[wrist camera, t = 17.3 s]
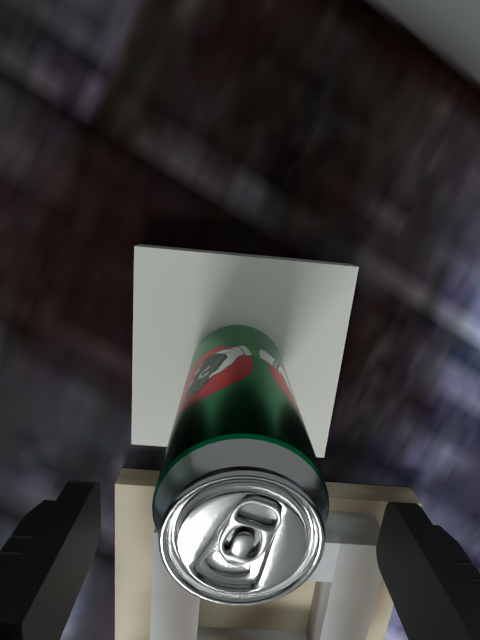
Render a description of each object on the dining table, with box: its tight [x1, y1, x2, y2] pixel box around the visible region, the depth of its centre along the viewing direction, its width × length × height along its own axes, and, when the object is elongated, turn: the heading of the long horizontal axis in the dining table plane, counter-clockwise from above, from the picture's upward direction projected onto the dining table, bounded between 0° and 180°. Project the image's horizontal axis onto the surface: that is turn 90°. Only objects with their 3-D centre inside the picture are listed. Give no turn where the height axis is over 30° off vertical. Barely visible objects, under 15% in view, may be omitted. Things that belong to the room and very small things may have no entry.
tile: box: [131, 244, 359, 458], centre depth 21 cm, size 12×12×2 cm
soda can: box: [152, 325, 329, 606], centre depth 15 cm, size 5×5×12 cm
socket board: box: [115, 468, 421, 640], centre depth 25 cm, size 20×16×4 cm
